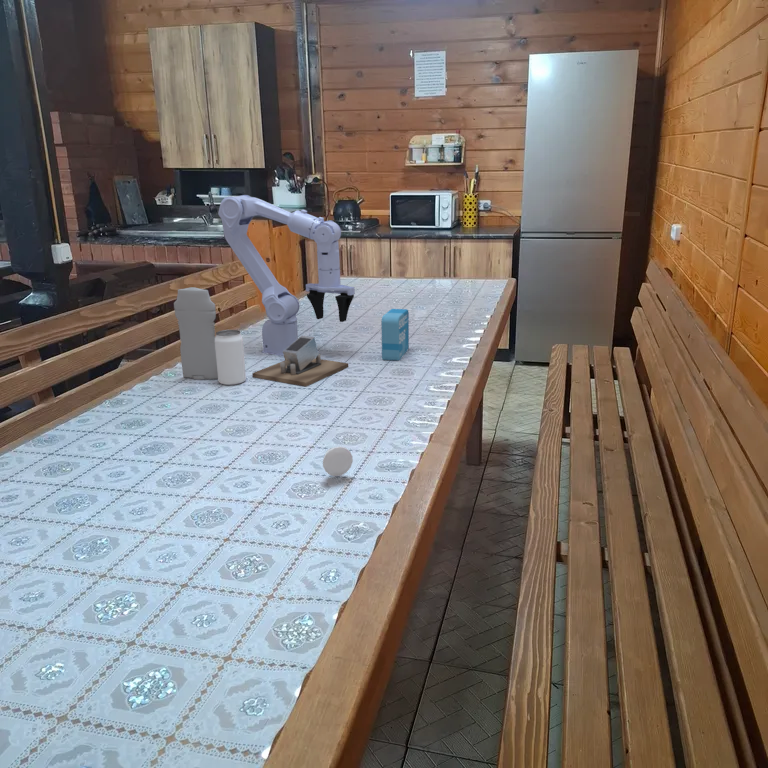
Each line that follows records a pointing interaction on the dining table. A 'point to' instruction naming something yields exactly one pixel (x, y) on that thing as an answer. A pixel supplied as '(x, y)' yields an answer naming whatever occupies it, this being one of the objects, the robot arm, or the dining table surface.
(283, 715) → the dining table surface
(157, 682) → the dining table surface
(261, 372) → the pin tray
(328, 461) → the grey oval shape
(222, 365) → the can
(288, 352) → the block
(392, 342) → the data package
